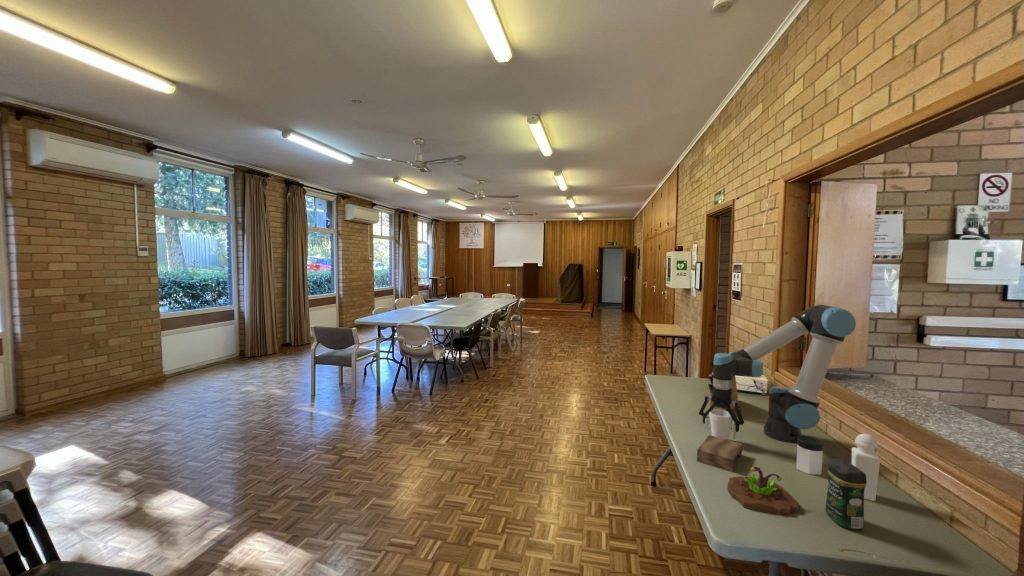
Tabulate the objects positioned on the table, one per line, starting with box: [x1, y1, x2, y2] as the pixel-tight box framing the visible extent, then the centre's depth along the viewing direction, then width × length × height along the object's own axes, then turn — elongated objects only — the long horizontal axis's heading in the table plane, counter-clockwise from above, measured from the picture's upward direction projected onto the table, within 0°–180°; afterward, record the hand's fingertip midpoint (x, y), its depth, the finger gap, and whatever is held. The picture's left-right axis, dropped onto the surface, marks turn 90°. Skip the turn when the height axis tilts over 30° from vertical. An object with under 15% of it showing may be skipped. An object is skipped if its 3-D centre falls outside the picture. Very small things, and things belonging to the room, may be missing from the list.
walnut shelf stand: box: [696, 434, 743, 472], centre depth 165 cm, size 13×18×5 cm
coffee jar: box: [824, 459, 867, 531], centre depth 124 cm, size 10×8×19 cm
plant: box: [726, 466, 800, 516], centre depth 138 cm, size 20×20×11 cm
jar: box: [795, 435, 824, 476], centre depth 156 cm, size 9×8×12 cm
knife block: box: [708, 358, 739, 412], centre depth 223 cm, size 11×35×31 cm, turn 144°
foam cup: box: [708, 410, 733, 440], centre depth 181 cm, size 10×9×13 cm
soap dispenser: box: [851, 433, 881, 502], centre depth 138 cm, size 6×6×22 cm
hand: (720, 434), depth 181 cm, fingers open, 11 cm apart
